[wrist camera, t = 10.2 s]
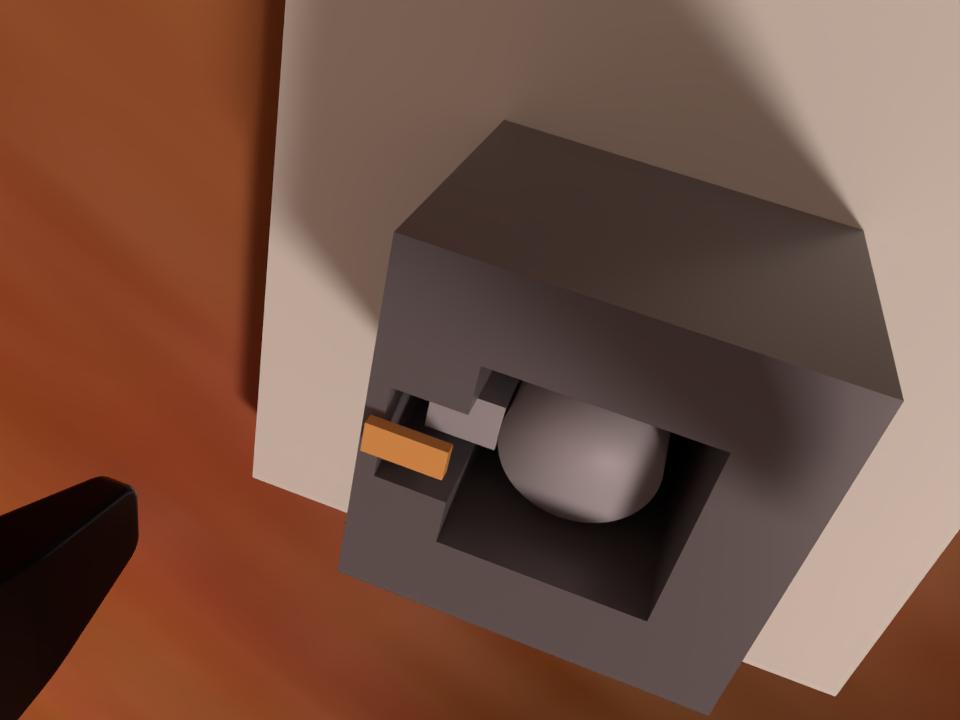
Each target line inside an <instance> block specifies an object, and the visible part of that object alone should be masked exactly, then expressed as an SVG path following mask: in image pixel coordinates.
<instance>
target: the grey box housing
mask: <svg viewBox="0 0 960 720" xmlns="http://www.w3.org/2000/svg"><path fill="white" fill-rule="evenodd" d="M492 370H494V371H497V372H500V373H502V374H505V375H508V376H511V377H514V378H517V379H520V380H523V381H525V382H528V383H531V384H534V385H537V386H540V387H543V388H545V389H548V390H551V391H554V392H557V393H560V394H563V395H566V396H568V397H571V398H574V399H577V400H580V401H583V402H586V403H589V404H591V405H594V406H597V407H600V408H603V409H606V410H609V411H612V412H614V413H617V414H620V415H623V416H626V417H629V418H632V419H635V420H637V421H640V422H643V423H646V424H649V425H652V426H655V427H657V428H660V429H663V430H666V431H669V432H671V433H670V439H669V445H668V451H667V456H666V462H665V468H664V474H663V479H662V482H661V484H660V487H659V489H658V491H657V492H656V494H655V495H654V497H653V498H652V499H651V501H650V502H649V503H647V504H646V505H645V506H644V507H643V508H642V509H640V510H639V511H637V512H636V513H634V514H632V515H630V516H628V517H625V518H622V519H619V520H615V521H611V522H603V523H584V522H576V521H572V520H567V519H564V518H561V517H557V516H555V515H553V514H550V513H548V512H546V511H544V510H542V509H541V508H539V507H537V506H536V505H534V504H533V503H531V502H530V501H529V500H528V499H526V498H525V497H524V496H523V495H522V494H521V493H520V492H519V491H518V490H517V489H516V488H515V487H514V485H513V484H512V483H511V481H510V480H509V478H508V477H507V475H506V473H505V471H504V469H503V467H502V464H501V461H500V457H499V451H498V443H497V445H496V447H495V449H494V450H492V449H489V448H486V447H483V446H481V445H478V444H475V443H472V442H469V441H467V440H464V439H461V438H458V437H455V436H453V435H450V434H447V433H444V432H441V431H439V430H436V429H433V428H430V427H427V426H425V421H426V417H427V412H428V408H429V403H430V402H433V403H435V404H438V405H441V406H444V407H447V408H449V409H452V410H455V411H458V412H461V413H463V414H466V415H469V413H470V411H471V409H472V408H473V406H474V404H475V402H476V400H477V398H478V396H479V394H480V393H481V391H482V389H483V387H484V385H485V383H486V381H487V379H488V378H489V376H490V374H491V372H492ZM903 402H904V399H903V395H902V391H901V386H900V382H899V378H898V374H897V370H896V365H895V361H894V357H893V353H892V348H891V344H890V340H889V336H888V332H887V327H886V323H885V319H884V315H883V310H882V306H881V302H880V298H879V294H878V289H877V285H876V281H875V277H874V272H873V268H872V264H871V260H870V256H869V251H868V247H867V243H866V239H865V234H864V230H861V229H858V228H855V227H851V226H848V225H845V224H842V223H838V222H835V221H832V220H829V219H825V218H822V217H819V216H816V215H812V214H809V213H806V212H803V211H799V210H796V209H793V208H790V207H786V206H783V205H780V204H777V203H773V202H770V201H767V200H764V199H760V198H757V197H754V196H751V195H747V194H744V193H741V192H738V191H734V190H731V189H728V188H725V187H721V186H718V185H715V184H712V183H708V182H705V181H702V180H699V179H695V178H692V177H689V176H686V175H682V174H679V173H676V172H673V171H669V170H666V169H663V168H660V167H656V166H653V165H650V164H647V163H643V162H640V161H637V160H634V159H630V158H627V157H624V156H621V155H617V154H614V153H611V152H608V151H604V150H601V149H598V148H595V147H591V146H588V145H585V144H582V143H578V142H575V141H572V140H569V139H565V138H562V137H559V136H556V135H552V134H549V133H546V132H543V131H539V130H536V129H533V128H530V127H526V126H523V125H520V124H517V123H513V122H510V121H507V120H503V121H502V122H501V123H500V124H499V126H498V127H497V128H496V129H495V130H494V131H493V132H492V133H491V134H490V135H489V136H488V137H487V138H486V139H485V140H484V141H483V142H482V143H481V144H480V145H479V146H478V147H477V148H476V149H475V150H474V151H473V152H472V153H471V154H470V155H469V156H468V157H467V158H466V159H465V160H464V161H463V162H462V163H461V164H460V165H459V166H458V167H457V168H456V169H455V170H454V171H453V172H452V173H451V174H450V175H449V176H448V177H447V178H446V179H445V180H444V181H443V182H442V183H441V184H440V185H439V186H438V187H437V188H436V190H435V191H434V192H433V193H432V194H431V195H430V196H429V197H428V198H427V199H426V200H425V201H424V202H423V203H422V204H421V205H420V206H419V207H418V208H417V209H416V210H415V211H414V212H413V213H412V214H411V215H410V216H409V217H408V218H407V219H406V220H405V221H404V222H403V223H402V224H401V225H400V226H399V227H398V228H397V229H396V230H395V231H394V233H393V239H392V246H391V252H390V258H389V264H388V270H387V276H386V282H385V288H384V294H383V300H382V306H381V312H380V318H379V324H378V330H377V336H376V342H375V348H374V354H373V360H372V366H371V372H370V378H369V384H368V390H367V397H366V403H365V409H364V415H363V421H362V427H361V433H360V439H359V445H358V451H357V457H356V463H355V469H354V475H353V481H352V487H351V493H350V499H349V505H348V511H347V517H346V523H345V529H344V535H343V542H342V548H341V554H340V560H339V566H338V572H341V573H343V574H346V575H348V576H351V577H354V578H356V579H359V580H361V581H364V582H366V583H369V584H372V585H374V586H377V587H379V588H382V589H384V590H387V591H389V592H392V593H395V594H397V595H400V596H402V597H405V598H407V599H410V600H413V601H415V602H418V603H420V604H423V605H425V606H428V607H431V608H433V609H436V610H438V611H441V612H443V613H446V614H448V615H451V616H454V617H456V618H459V619H461V620H464V621H466V622H469V623H472V624H474V625H477V626H479V627H482V628H484V629H487V630H490V631H492V632H495V633H497V634H500V635H502V636H505V637H507V638H510V639H513V640H515V641H518V642H520V643H523V644H525V645H528V646H531V647H533V648H536V649H538V650H541V651H543V652H546V653H549V654H551V655H554V656H556V657H559V658H561V659H564V660H566V661H569V662H572V663H574V664H577V665H579V666H582V667H584V668H587V669H590V670H592V671H595V672H597V673H600V674H602V675H605V676H608V677H610V678H613V679H615V680H618V681H620V682H623V683H625V684H628V685H631V686H633V687H636V688H638V689H641V690H643V691H646V692H649V693H651V694H654V695H656V696H659V697H661V698H664V699H667V700H669V701H672V702H674V703H677V704H679V705H682V706H684V707H687V708H690V709H692V710H695V711H697V712H700V713H702V714H705V715H708V716H709V714H710V712H711V711H712V709H713V707H714V706H715V704H716V703H717V701H718V699H719V698H720V696H721V695H722V693H723V691H724V690H725V688H726V687H727V685H728V683H729V682H730V680H731V679H732V677H733V675H734V674H735V672H736V670H737V669H738V667H739V666H740V664H741V662H742V661H743V659H744V658H745V656H746V654H747V653H748V651H749V650H750V648H751V646H752V645H753V643H754V642H755V640H756V638H757V637H758V635H759V633H760V632H761V630H762V629H763V627H764V625H765V624H766V622H767V621H768V619H769V617H770V616H771V614H772V613H773V611H774V609H775V608H776V606H777V605H778V603H779V601H780V600H781V598H782V596H783V595H784V593H785V592H786V590H787V588H788V587H789V585H790V584H791V582H792V580H793V579H794V577H795V576H796V574H797V572H798V571H799V569H800V567H801V566H802V564H803V563H804V561H805V559H806V558H807V556H808V555H809V553H810V551H811V550H812V548H813V547H814V545H815V543H816V542H817V540H818V539H819V537H820V535H821V534H822V532H823V530H824V529H825V527H826V526H827V524H828V522H829V521H830V519H831V518H832V516H833V514H834V513H835V511H836V510H837V508H838V506H839V505H840V503H841V502H842V500H843V498H844V497H845V495H846V493H847V492H848V490H849V489H850V487H851V485H852V484H853V482H854V481H855V479H856V477H857V476H858V474H859V473H860V471H861V469H862V468H863V466H864V465H865V463H866V461H867V460H868V458H869V456H870V455H871V453H872V452H873V450H874V448H875V447H876V445H877V444H878V442H879V440H880V439H881V437H882V436H883V434H884V432H885V431H886V429H887V427H888V426H889V424H890V423H891V421H892V419H893V418H894V416H895V415H896V413H897V411H898V410H899V408H900V407H901V405H902V403H903Z"/></svg>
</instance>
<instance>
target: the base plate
mask: <svg viewBox="0 0 960 720" xmlns="http://www.w3.org/2000/svg"><path fill="white" fill-rule="evenodd" d="M503 120H507V121H510V122H513V123H517V124H520V125H523V126H526V127H530V128H533V129H536V130H539V131H543V132H546V133H549V134H552V135H556V136H559V137H562V138H565V139H569V140H572V141H575V142H578V143H582V144H585V145H588V146H591V147H595V148H598V149H601V150H604V151H608V152H611V153H614V154H617V155H621V156H624V157H627V158H630V159H634V160H637V161H640V162H643V163H647V164H650V165H653V166H656V167H660V168H663V169H666V170H669V171H673V172H676V173H679V174H682V175H686V176H689V177H692V178H695V179H699V180H702V181H705V182H708V183H712V184H715V185H718V186H721V187H725V188H728V189H731V190H734V191H738V192H741V193H744V194H747V195H751V196H754V197H757V198H760V199H764V200H767V201H770V202H773V203H777V204H780V205H783V206H786V207H790V208H793V209H796V210H799V211H803V212H806V213H809V214H812V215H816V216H819V217H822V218H825V219H829V220H832V221H835V222H838V223H842V224H845V225H848V226H851V227H855V228H858V229H861V230H864V234H865V239H866V243H867V247H868V251H869V256H870V260H871V264H872V268H873V272H874V277H875V281H876V285H877V289H878V294H879V298H880V302H881V306H882V310H883V315H884V319H885V323H886V327H887V332H888V336H889V340H890V344H891V348H892V353H893V357H894V361H895V365H896V370H897V374H898V378H899V382H900V386H901V391H902V395H903V399H904V402H903V403H902V405H901V407H900V408H899V410H898V411H897V413H896V415H895V416H894V418H893V419H892V421H891V423H890V424H889V426H888V427H887V429H886V431H885V432H884V434H883V436H882V437H881V439H880V440H879V442H878V444H877V445H876V447H875V448H874V450H873V452H872V453H871V455H870V456H869V458H868V460H867V461H866V463H865V465H864V466H863V468H862V469H861V471H860V473H859V474H858V476H857V477H856V479H855V481H854V482H853V484H852V485H851V487H850V489H849V490H848V492H847V493H846V495H845V497H844V498H843V500H842V502H841V503H840V505H839V506H838V508H837V510H836V511H835V513H834V514H833V516H832V518H831V519H830V521H829V522H828V524H827V526H826V527H825V529H824V530H823V532H822V534H821V535H820V537H819V539H818V540H817V542H816V543H815V545H814V547H813V548H812V550H811V551H810V553H809V555H808V556H807V558H806V559H805V561H804V563H803V564H802V566H801V567H800V569H799V571H798V572H797V574H796V576H795V577H794V579H793V580H792V582H791V584H790V585H789V587H788V588H787V590H786V592H785V593H784V595H783V596H782V598H781V600H780V601H779V603H778V605H777V606H776V608H775V609H774V611H773V613H772V614H771V616H770V617H769V619H768V621H767V622H766V624H765V625H764V627H763V629H762V630H761V632H760V633H759V635H758V637H757V638H756V640H755V642H754V643H753V645H752V646H751V648H750V650H749V651H748V653H747V654H746V656H745V658H744V659H743V661H742V662H745V663H748V664H750V665H753V666H756V667H758V668H761V669H764V670H766V671H769V672H772V673H774V674H777V675H780V676H782V677H785V678H788V679H790V680H793V681H795V682H798V683H801V684H803V685H806V686H809V687H811V688H814V689H817V690H819V691H822V692H825V693H827V694H830V695H833V696H836V695H837V694H838V692H839V691H840V690H841V688H842V687H843V685H844V684H845V683H846V681H847V680H848V679H849V677H850V676H851V675H852V673H853V672H854V671H855V669H856V668H857V667H858V665H859V664H860V663H861V661H862V660H863V659H864V657H865V656H866V654H867V653H868V652H869V650H870V649H871V648H872V646H873V645H874V644H875V642H876V641H877V640H878V638H879V637H880V636H881V634H882V633H883V632H884V630H885V629H886V628H887V626H888V625H889V623H890V622H891V621H892V619H893V618H894V617H895V615H896V614H897V613H898V611H899V610H900V609H901V607H902V606H903V605H904V603H905V602H906V601H907V599H908V598H909V597H910V595H911V594H912V593H913V591H914V590H915V588H916V587H917V586H918V584H919V583H920V582H921V580H922V579H923V578H924V576H925V575H926V574H927V572H928V571H929V570H930V568H931V567H932V566H933V564H934V563H935V562H936V560H937V559H938V557H939V556H940V555H941V553H942V552H943V551H944V549H945V548H946V547H947V545H948V544H949V543H950V541H951V540H952V539H953V537H954V536H955V535H956V533H957V532H958V531H959V529H960V0H286V2H285V17H284V31H283V46H282V60H281V75H280V89H279V103H278V118H277V132H276V147H275V161H274V176H273V190H272V205H271V219H270V233H269V248H268V262H267V277H266V291H265V306H264V320H263V335H262V349H261V364H260V378H259V392H258V407H257V421H256V436H255V450H254V465H253V478H256V479H259V480H261V481H264V482H267V483H269V484H272V485H275V486H277V487H280V488H283V489H285V490H288V491H291V492H293V493H296V494H299V495H301V496H304V497H307V498H309V499H312V500H315V501H317V502H320V503H323V504H325V505H328V506H330V507H333V508H336V509H338V510H341V511H344V512H346V513H347V511H348V505H349V499H350V493H351V487H352V481H353V475H354V469H355V463H356V457H357V451H358V445H359V439H360V433H361V427H362V421H363V415H364V409H365V403H366V397H367V390H368V384H369V378H370V372H371V366H372V360H373V354H374V348H375V342H376V336H377V330H378V324H379V318H380V312H381V306H382V300H383V294H384V288H385V282H386V276H387V270H388V264H389V258H390V252H391V246H392V239H393V233H394V231H395V230H396V229H397V228H398V227H399V226H400V225H401V224H402V223H403V222H404V221H405V220H406V219H407V218H408V217H409V216H410V215H411V214H412V213H413V212H414V211H415V210H416V209H417V208H418V207H419V206H420V205H421V204H422V203H423V202H424V201H425V200H426V199H427V198H428V197H429V196H430V195H431V194H432V193H433V192H434V191H435V190H436V188H437V187H438V186H439V185H440V184H441V183H442V182H443V181H444V180H445V179H446V178H447V177H448V176H449V175H450V174H451V173H452V172H453V171H454V170H455V169H456V168H457V167H458V166H459V165H460V164H461V163H462V162H463V161H464V160H465V159H466V158H467V157H468V156H469V155H470V154H471V153H472V152H473V151H474V150H475V149H476V148H477V147H478V146H479V145H480V144H481V143H482V142H483V141H484V140H485V139H486V138H487V137H488V136H489V135H490V134H491V133H492V132H493V131H494V130H495V129H496V128H497V127H498V126H499V124H500V123H501V122H502V121H503ZM425 426H427V427H430V428H433V429H436V430H439V431H441V432H444V433H447V434H450V435H453V436H455V437H458V438H461V439H464V440H467V441H469V442H472V443H475V444H478V445H481V446H483V447H486V448H489V449H492V450H494V449H495V447H496V445H497V443H498V451H499V457H500V461H501V464H502V467H503V469H504V471H505V473H506V475H507V477H508V478H509V480H510V481H511V483H512V484H513V485H514V487H515V488H516V489H517V490H518V491H519V492H520V493H521V494H522V495H523V496H524V497H525V498H526V499H528V500H529V501H530V502H531V503H533V504H534V505H536V506H537V507H539V508H541V509H542V510H544V511H546V512H548V513H550V514H553V515H555V516H557V517H561V518H564V519H567V520H572V521H576V522H584V523H603V522H611V521H615V520H619V519H622V518H625V517H628V516H630V515H632V514H634V513H636V512H637V511H639V510H640V509H642V508H643V507H644V506H645V505H646V504H647V503H649V502H650V501H651V499H652V498H653V497H654V495H655V494H656V492H657V491H658V489H659V487H660V484H661V482H662V479H663V474H664V468H665V462H666V456H667V451H668V445H669V439H670V433H671V432H669V431H666V430H663V429H660V428H657V427H655V426H652V425H649V424H646V423H643V422H640V421H637V420H635V419H632V418H629V417H626V416H623V415H620V414H617V413H614V412H612V411H609V410H606V409H603V408H600V407H597V406H594V405H591V404H589V403H586V402H583V401H580V400H577V399H574V398H571V397H568V396H566V395H563V394H560V393H557V392H554V391H551V390H548V389H545V388H543V387H540V386H537V385H534V384H531V383H528V382H525V381H523V380H520V379H517V378H514V377H511V376H508V375H505V374H502V373H500V372H497V371H494V370H492V372H491V374H490V376H489V378H488V379H487V381H486V383H485V385H484V387H483V389H482V391H481V393H480V394H479V396H478V398H477V400H476V402H475V404H474V406H473V408H472V409H471V411H470V413H469V415H466V414H463V413H461V412H458V411H455V410H452V409H449V408H447V407H444V406H441V405H438V404H435V403H433V402H430V403H429V408H428V412H427V417H426V421H425Z"/></svg>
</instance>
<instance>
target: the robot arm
mask: <svg viewBox="0 0 960 720" xmlns="http://www.w3.org/2000/svg"><path fill="white" fill-rule="evenodd" d="M138 536H139V530H138V503H137V493H136V491H135V489H134V488H133V487H132V486H130V485H128V484H125V483H123V482H120V481H117V480H115V479H112V478H110V477H105V476H100V477H95V478H92V479H89V480H87V481H85V482H82V483H80V484H77V485H75V486H72V487H70V488H67V489H65V490H62V491H60V492H57V493H55V494H53V495H50V496H48V497H45V498H43V499H40V500H38V501H35V502H33V503H30V504H28V505H26V506H23V507H21V508H18V509H16V510H13V511H11V512H8V513H6V514H3V515H1V516H0V720H18V719H19V718H20V716H21V715H22V714H23V713H24V711H25V710H26V709H27V708H28V706H29V705H30V704H31V703H32V702H33V700H34V699H35V698H36V697H37V695H38V694H39V693H40V692H41V690H42V689H43V688H44V687H45V685H46V684H47V683H48V681H49V680H50V679H51V677H52V676H53V675H54V674H55V672H56V671H57V670H58V668H59V667H60V665H61V664H62V662H63V661H64V659H65V658H66V656H67V655H68V654H69V652H70V651H71V649H72V647H73V646H74V644H75V643H76V641H77V640H78V638H79V637H80V635H81V634H82V632H83V631H84V629H85V628H86V626H87V624H88V623H89V621H90V620H91V618H92V617H93V615H94V614H95V612H96V611H97V609H98V608H99V606H100V604H101V603H102V601H103V600H104V598H105V597H106V595H107V594H108V592H109V591H110V589H111V588H112V586H113V585H114V583H115V581H116V580H117V578H118V577H119V575H120V574H121V572H122V571H123V569H124V568H125V566H126V565H127V563H128V561H129V560H130V558H131V557H132V555H133V553H134V551H135V549H136V546H137V542H138Z"/></svg>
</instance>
